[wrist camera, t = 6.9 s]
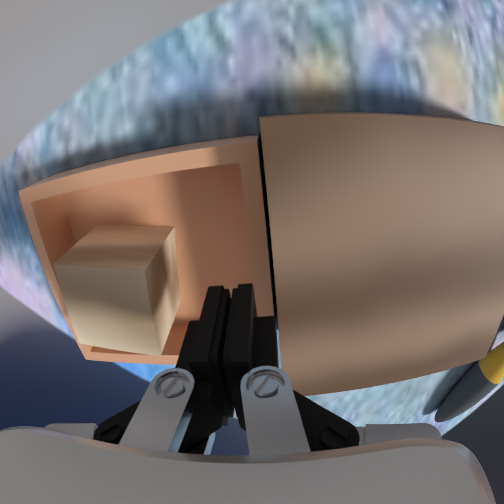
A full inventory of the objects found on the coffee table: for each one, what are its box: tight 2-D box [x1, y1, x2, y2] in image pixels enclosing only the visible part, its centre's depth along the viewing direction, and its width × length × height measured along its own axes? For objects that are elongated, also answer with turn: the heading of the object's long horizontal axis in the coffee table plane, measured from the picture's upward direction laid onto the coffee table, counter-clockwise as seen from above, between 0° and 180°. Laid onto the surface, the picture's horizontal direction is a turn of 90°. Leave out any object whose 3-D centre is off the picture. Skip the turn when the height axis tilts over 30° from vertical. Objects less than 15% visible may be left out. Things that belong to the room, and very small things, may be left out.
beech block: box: [53, 225, 181, 356], centre depth 16 cm, size 5×5×5 cm
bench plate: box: [259, 112, 504, 396], centre depth 15 cm, size 14×14×6 cm
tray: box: [19, 135, 276, 364], centre depth 17 cm, size 12×13×4 cm
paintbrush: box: [435, 342, 504, 422], centre depth 21 cm, size 20×5×5 cm, turn 167°
